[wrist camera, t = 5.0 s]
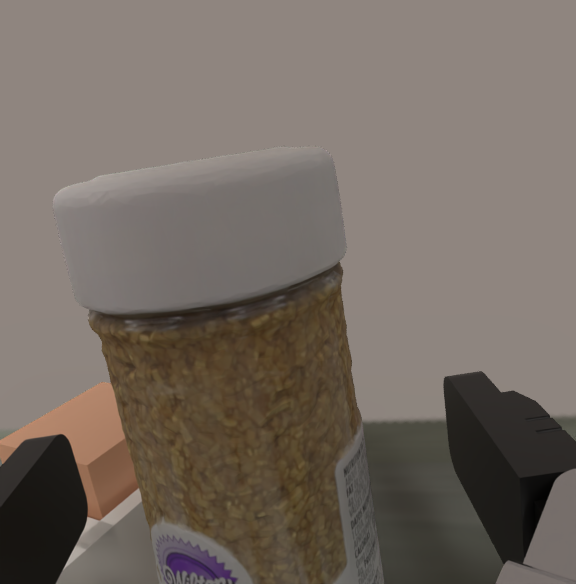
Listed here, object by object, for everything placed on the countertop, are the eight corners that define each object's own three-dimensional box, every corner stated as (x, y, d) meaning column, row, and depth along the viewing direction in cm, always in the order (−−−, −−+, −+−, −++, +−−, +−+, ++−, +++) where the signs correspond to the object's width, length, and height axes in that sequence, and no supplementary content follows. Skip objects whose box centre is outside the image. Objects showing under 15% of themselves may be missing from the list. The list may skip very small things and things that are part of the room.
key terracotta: (199, 441, 20) (188, 392, 19) (104, 523, 16) (87, 465, 16) (113, 426, 22) (101, 382, 22) (12, 494, 18) (-5, 442, 18)
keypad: (249, 511, 21) (231, 422, 20) (-95, 913, 11) (-169, 773, 10) (134, 482, 24) (112, 404, 23) (-215, 768, 14) (-280, 652, 13)
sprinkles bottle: (181, 866, 11) (-29, 196, 7) (250, 656, 15) (138, 169, 11) (414, 919, 10) (296, 141, 6) (417, 674, 14) (349, 133, 10)
